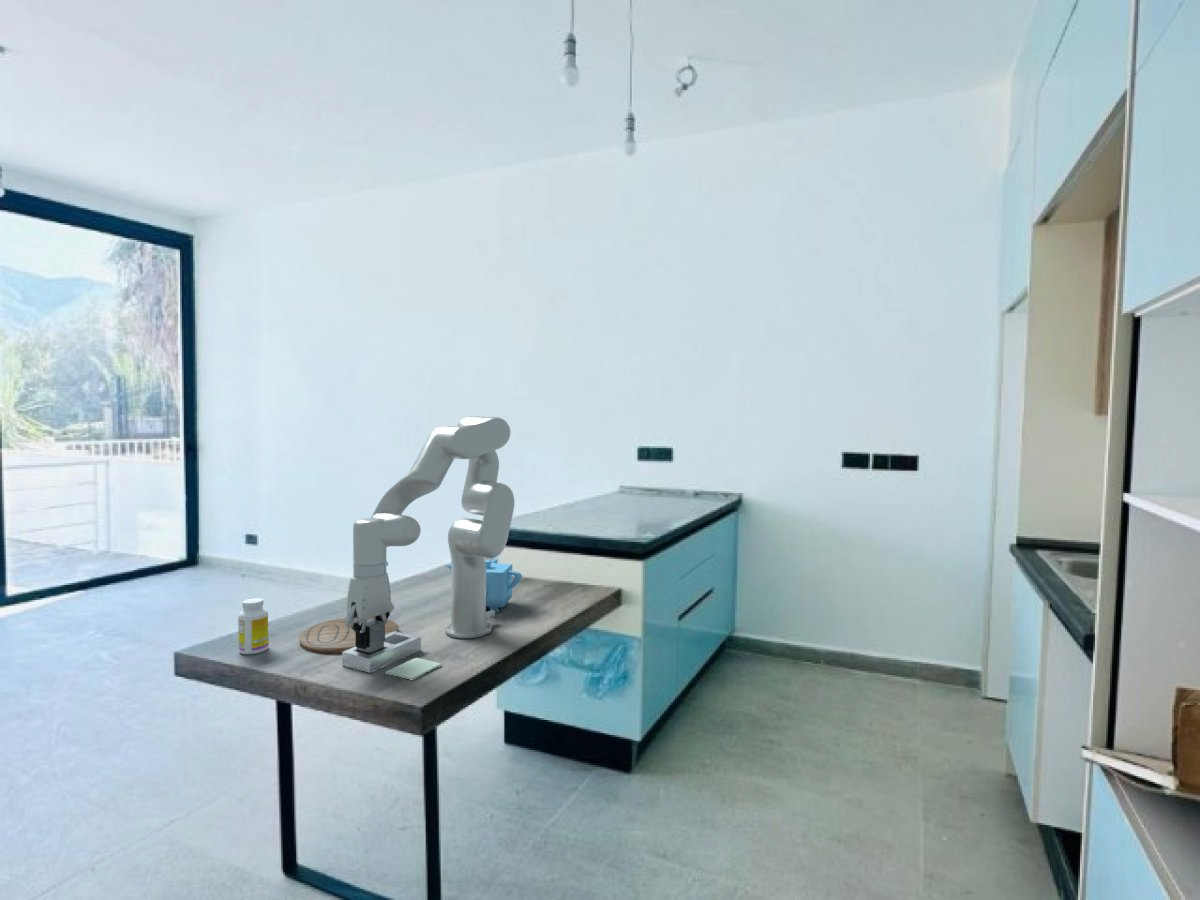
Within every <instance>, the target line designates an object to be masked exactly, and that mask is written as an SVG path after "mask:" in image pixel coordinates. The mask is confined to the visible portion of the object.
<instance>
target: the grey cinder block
mask: <svg viewBox="0 0 1200 900" xmlns="http://www.w3.org/2000/svg"><path fill="white" fill-rule="evenodd" d="M421 645H422V637H421V636H417V635H413V634H409V633H404V632H399V631H398V632H396V631H394V632H391V633H389V634H386V635H385V641H384V649H383V650H381V651H378V652H376V653H374V654H371V655H368V654H364V653H360V652H357V647H353V648H351V649H348V650H345V651H343V652H342V654H341V667H343V666H345V667H344V668H347V667H349V668H348V669H351V668H353V669H352V670H355V669H357V670H356V671H359V670H362V671H365V672H364V673H366V672H369V673H368V674H371V673H370V672H372V671H374V670H376V671H378V670H380V669H379V668H381V667H383V666H385V665H387V666H389V665H388V664H390V663H392V662H394V661H396V662H398V661H400V660H399V659H401V658H403V657H405V658H407V657H409V656H411V655H410V654H412V655H413V653H414V654H416V653H418V652H421V650H422V647H421ZM417 651H418V652H417ZM415 652H416V653H415ZM408 655H409V656H408ZM406 656H407V657H406ZM403 659H404V658H403ZM397 660H398V661H397ZM401 660H402V659H401ZM394 663H395V662H394ZM392 664H393V663H392ZM390 665H391V664H390ZM385 667H386V666H385ZM383 668H384V667H383ZM377 669H378V670H377ZM381 669H382V668H381ZM362 671H361V672H362ZM374 672H375V671H374ZM372 673H373V672H372Z"/></svg>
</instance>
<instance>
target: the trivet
mask: <svg viewBox="0 0 1200 900" xmlns="http://www.w3.org/2000/svg"><path fill="white" fill-rule="evenodd" d="M345 619H346V617H345V618H338V619H332V620H328V621H324V622H320V623H317V624H314V625H312V626H310V627H307V628H306V629H304V630H303V631H302V632H301V633H300V635H299V637H298V638H299V642H300V643H299V642H298V643H299V646H300V647H301V648H302V647H303V650H305V649H306V651H308V650H309V651H308V652H311V651H312V653H316V652H317V653H318V654H323V653H342V652H343V651H345V650H348V649H351V648H353V647H356V632H355V631H353V629H352V628H351V627H350V626H348V625H346V624H345V623H344V621H345ZM370 619H373V620H375V619H374V617H373V618H370ZM367 620H369V619H367ZM354 621H355V618H354ZM360 623H361V621H360ZM394 631H396V632H399V625H398V624H397V622H394V621H393V620H391V619H387V624H386V625H385V635H386V634H389V633H391V632H394Z"/></svg>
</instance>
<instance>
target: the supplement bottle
mask: <svg viewBox="0 0 1200 900" xmlns="http://www.w3.org/2000/svg"><path fill="white" fill-rule="evenodd" d="M241 605H242V608H243V609H242V611H240V612H239V613H238V616H237V617H238V618H237V619H238V621H237V624H238V651H239V653H240V654H243V655H257V654H260V653H264V652H265V651H267V650H268V649H269V612H268V610H267V609H266V608H264V607H263V606H264V599H263V598H261V597H255V598H253V597H252V598H248V599H244V600H243V601H242V604H241Z"/></svg>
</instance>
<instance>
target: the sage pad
mask: <svg viewBox="0 0 1200 900" xmlns="http://www.w3.org/2000/svg"><path fill="white" fill-rule="evenodd" d="M440 665H441V666H442V663H441V662H437V661H432V660H428V659H425V658H424V659H423V658H421V657H420V658H419V657H415V658H411V659H409V660H407V661H405V662H403V663H400V664H399V665H397V666H395V667H393V668H390V669H389V670H386V671H385V674H386V673H387V674H392V675H396V676H400V677H404V678H408V679H414V678H416V677H418V676H420V675H422V674H424V673H426V672H428V671H430V670H432V669H435V668H436V667H438V666H440ZM435 670H436V669H435ZM387 674H386V675H387Z"/></svg>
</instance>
